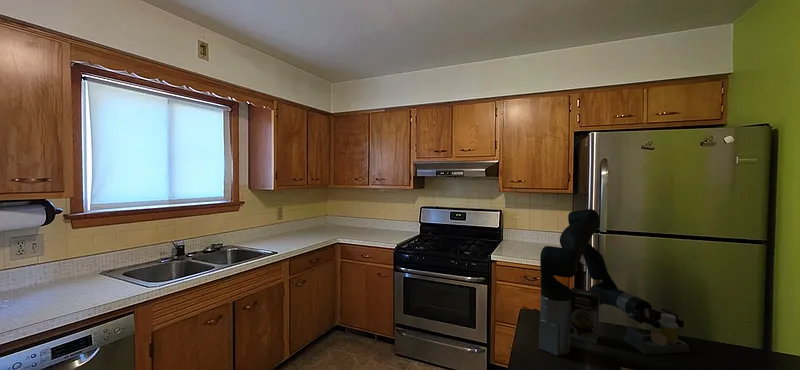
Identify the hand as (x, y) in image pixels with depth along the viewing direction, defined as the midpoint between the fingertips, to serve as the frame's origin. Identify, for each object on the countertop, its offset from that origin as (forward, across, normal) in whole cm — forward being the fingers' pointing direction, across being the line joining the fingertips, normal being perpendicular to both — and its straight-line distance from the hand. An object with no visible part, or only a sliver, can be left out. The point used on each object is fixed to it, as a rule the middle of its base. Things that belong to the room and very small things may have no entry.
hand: (671, 325), depth 115 cm
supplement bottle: (-2, 0, +7) cm, 7 cm away
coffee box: (-9, -25, +8) cm, 27 cm away
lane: (-1, -3, +8) cm, 8 cm away
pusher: (-1, -3, +7) cm, 8 cm away
